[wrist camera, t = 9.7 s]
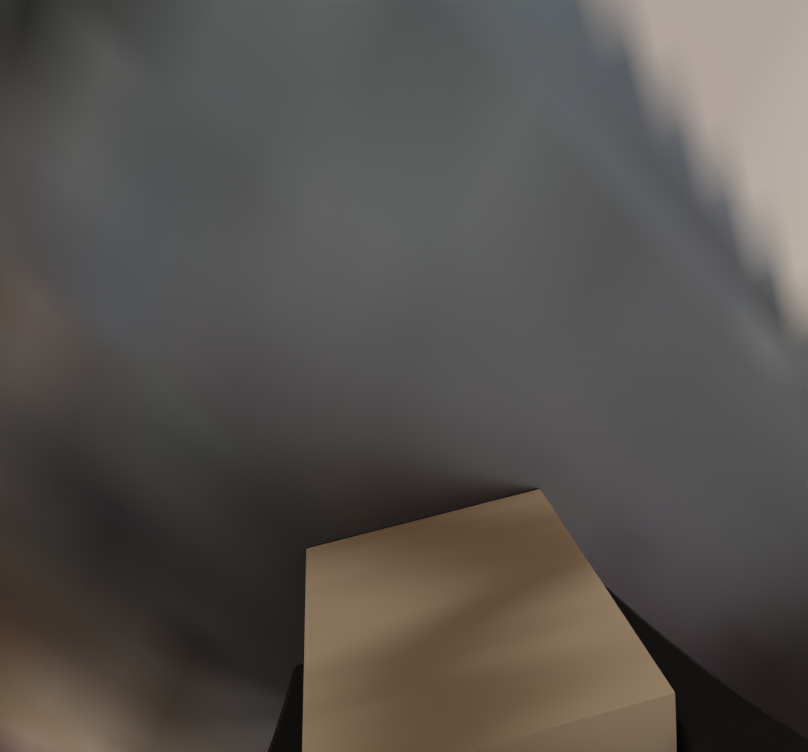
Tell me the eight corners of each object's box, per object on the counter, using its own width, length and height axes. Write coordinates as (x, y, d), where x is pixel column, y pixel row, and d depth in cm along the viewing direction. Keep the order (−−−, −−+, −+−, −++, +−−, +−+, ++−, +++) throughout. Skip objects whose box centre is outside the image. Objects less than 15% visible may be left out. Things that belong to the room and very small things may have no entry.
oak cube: (539, 488, 12) (675, 693, 8) (562, 660, 14) (681, 907, 10) (306, 548, 12) (301, 796, 7) (361, 715, 14) (383, 996, 9)
